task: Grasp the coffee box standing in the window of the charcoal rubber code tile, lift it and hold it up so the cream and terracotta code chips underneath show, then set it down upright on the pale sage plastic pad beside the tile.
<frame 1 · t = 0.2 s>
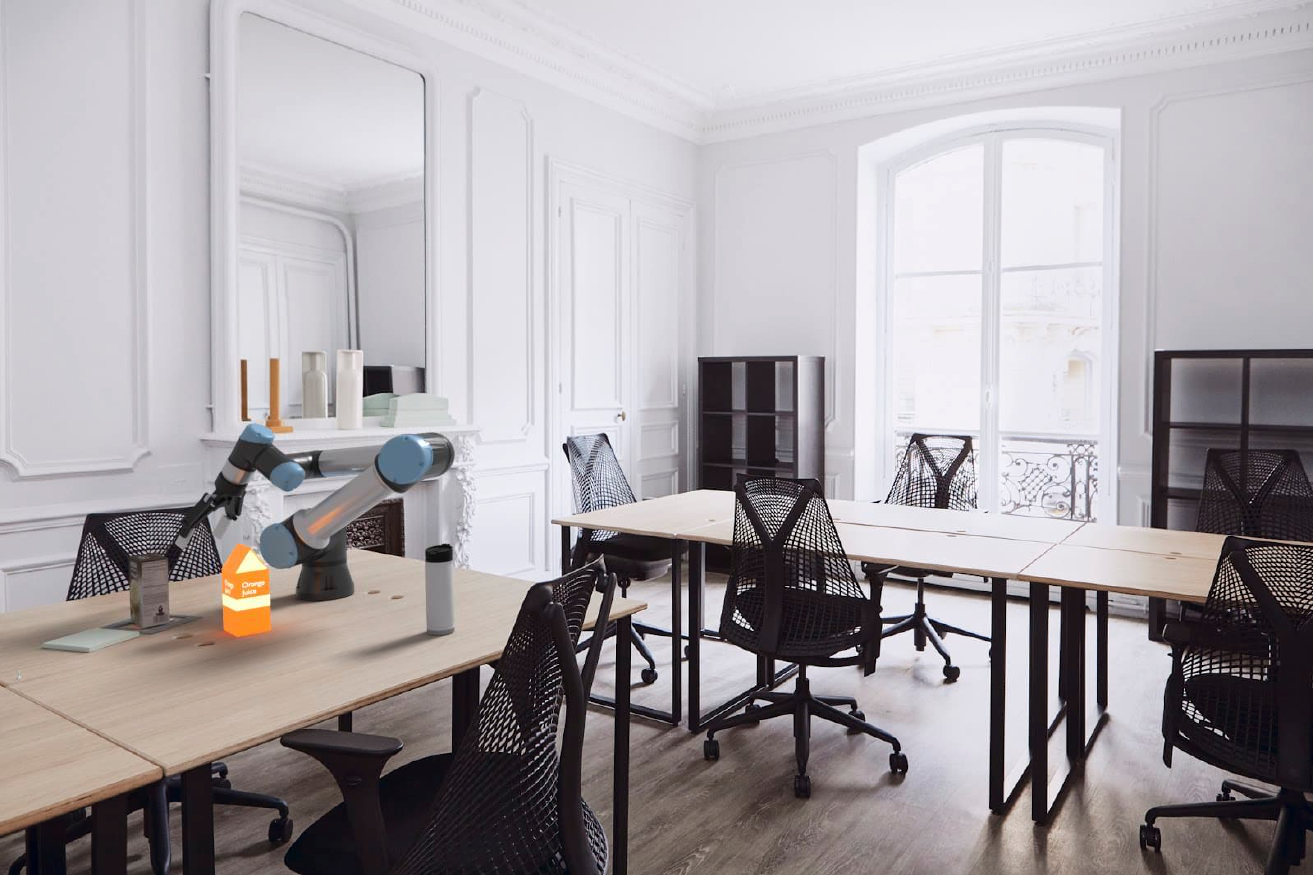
hand: (198, 541, 239), 16 cm above the table, tool tilted 35°, fingers open, 13 cm apart
orange juice: (247, 631, 210), on the table
coffee box: (150, 623, 216), on the table, touching code tile
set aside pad: (92, 641, 201), on the table
code tile: (150, 623, 216), on the table
travel mug: (441, 632, 207), on the table
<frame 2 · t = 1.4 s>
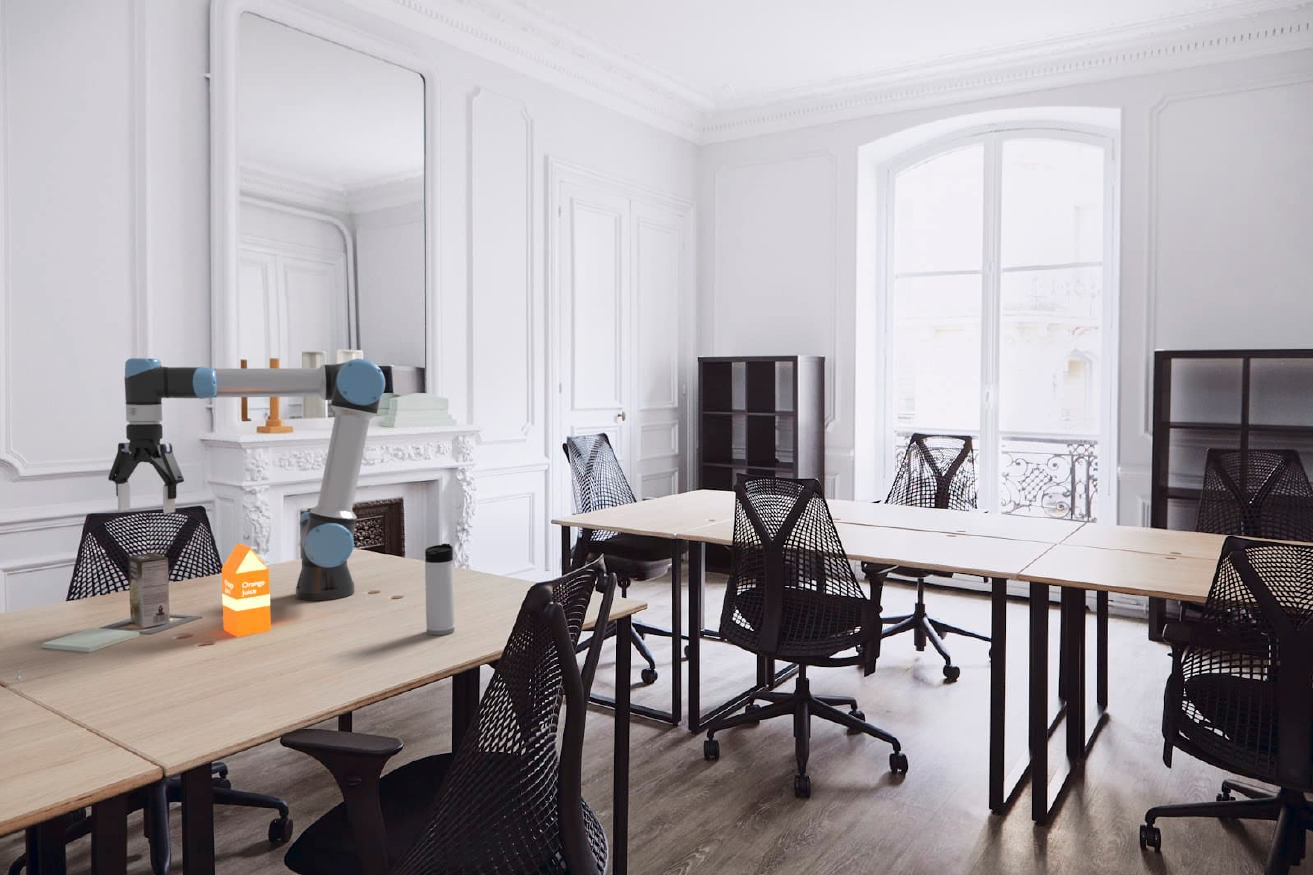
hand: (146, 511, 215), 27 cm above the table, tool pointing down, fingers open, 13 cm apart
nothing on the table moved.
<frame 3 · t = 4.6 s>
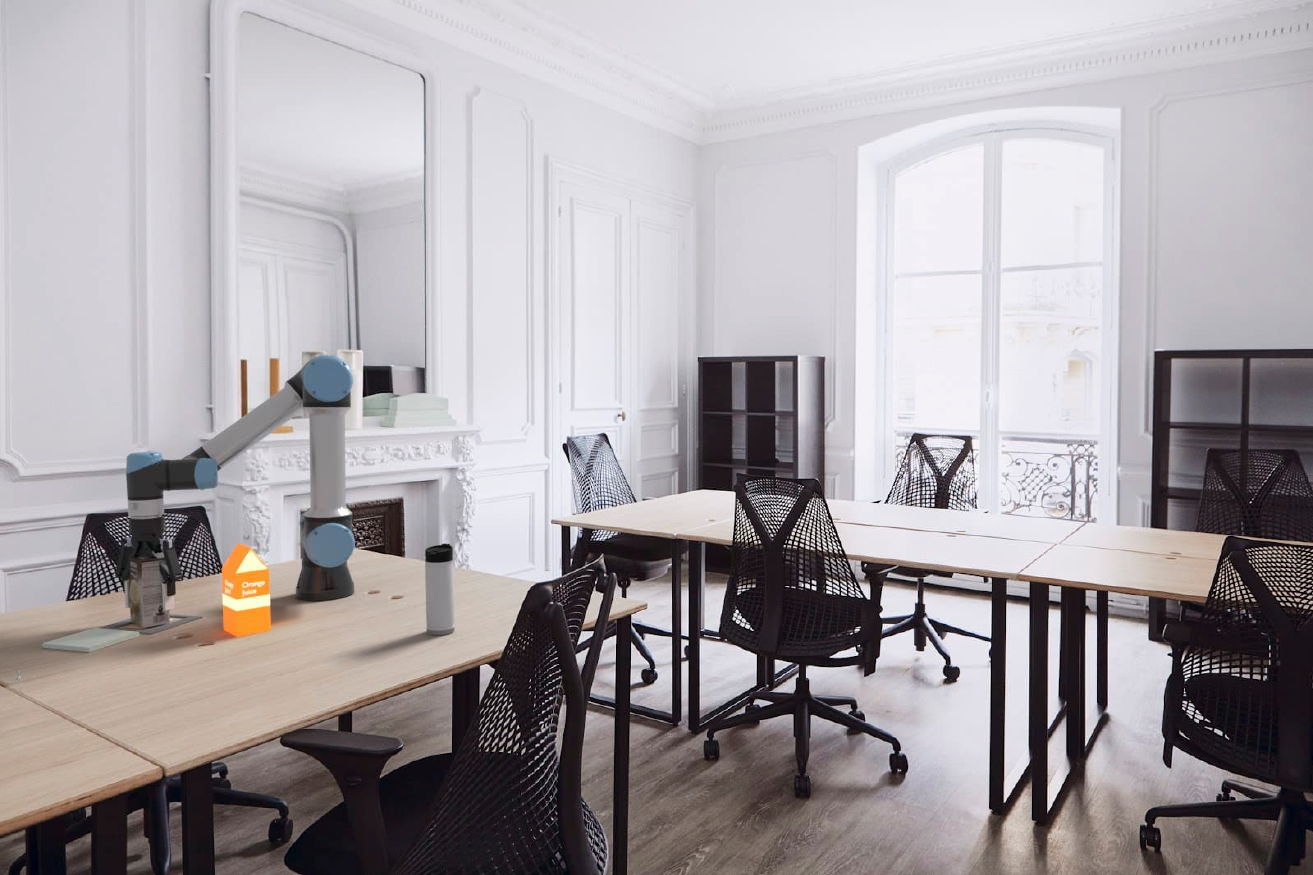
hand: (150, 607, 216), 4 cm above the table, tool pointing down, fingers closed on coffee box, 10 cm apart
coffee box: (150, 623, 216), on the table, touching code tile, gripper
everything else where it was.
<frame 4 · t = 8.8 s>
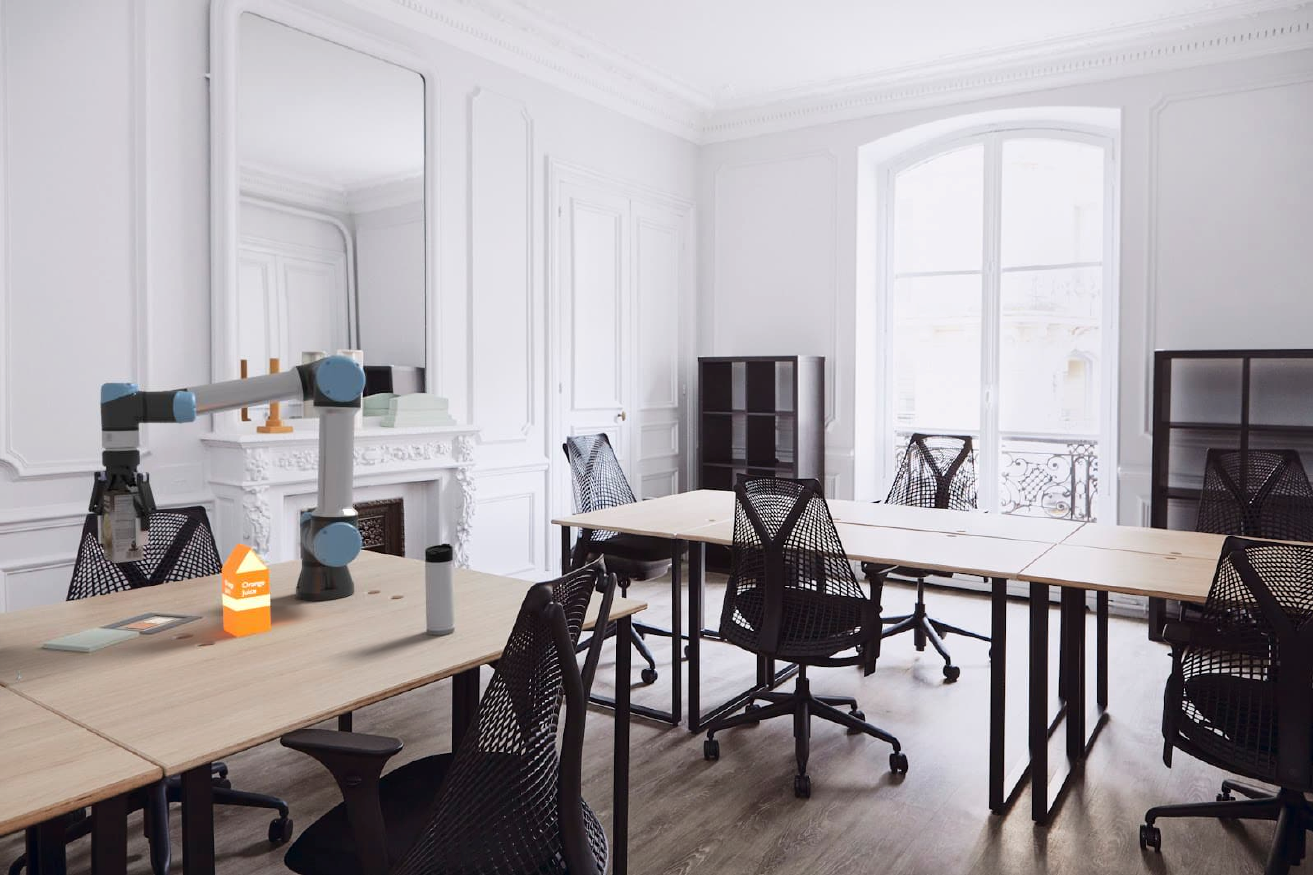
hand: (123, 544, 209), 20 cm above the table, tool pointing down, fingers closed on coffee box, 10 cm apart
coffee box: (123, 559, 209), point 17 cm above the table, touching gripper
everything else where it was.
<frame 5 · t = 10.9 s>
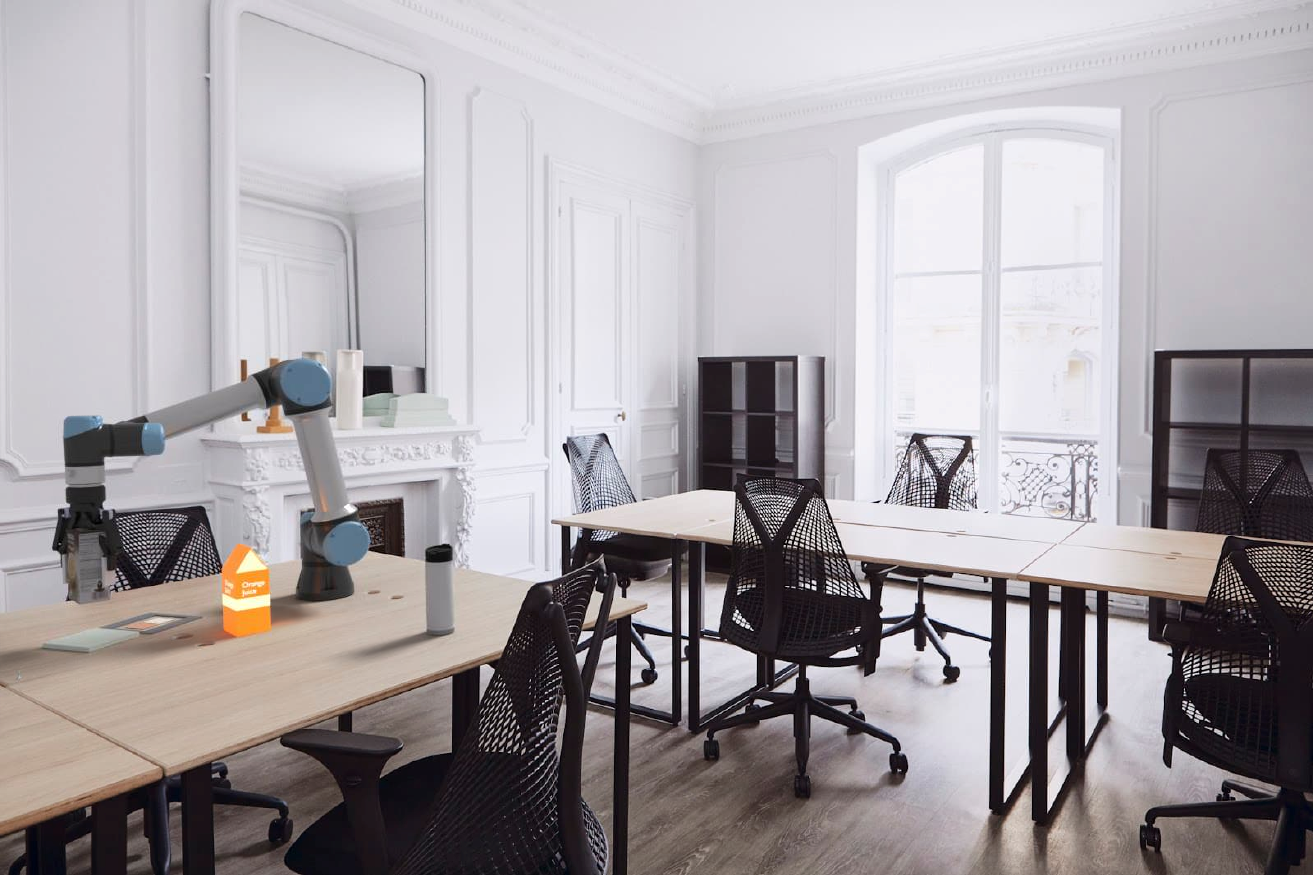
hand: (89, 583, 200), 13 cm above the table, tool pointing down, fingers closed on coffee box, 10 cm apart
coffee box: (89, 600, 200), point 9 cm above the table, touching gripper
everything else where it was.
when the fingers open (6 cm above the table, at t = 13.1 s): coffee box drops 2 cm, resting on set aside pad.
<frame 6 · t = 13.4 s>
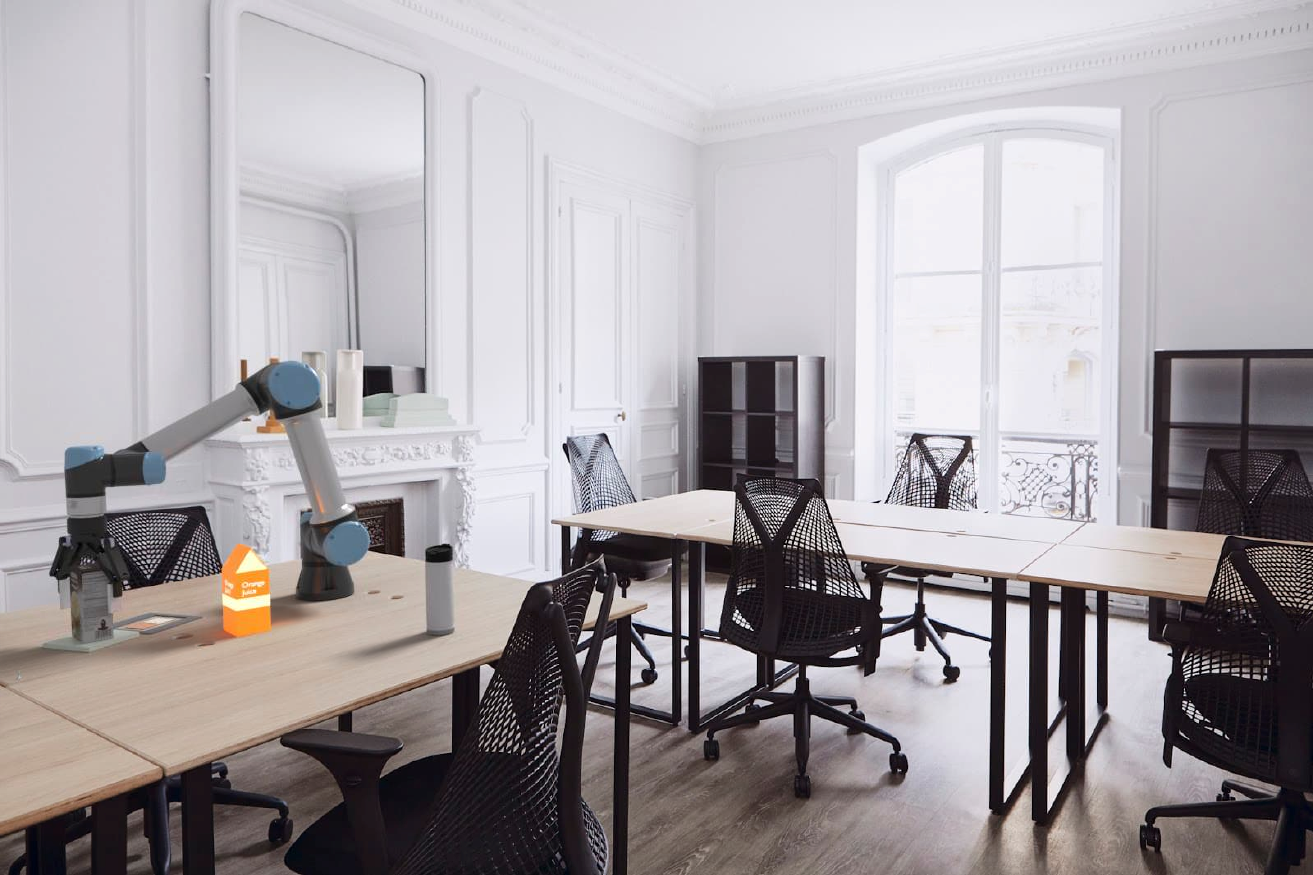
hand: (90, 610, 200), 7 cm above the table, tool pointing down, fingers open, 13 cm apart
coffee box: (93, 638, 201), point 1 cm above the table, touching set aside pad
everything else where it was.
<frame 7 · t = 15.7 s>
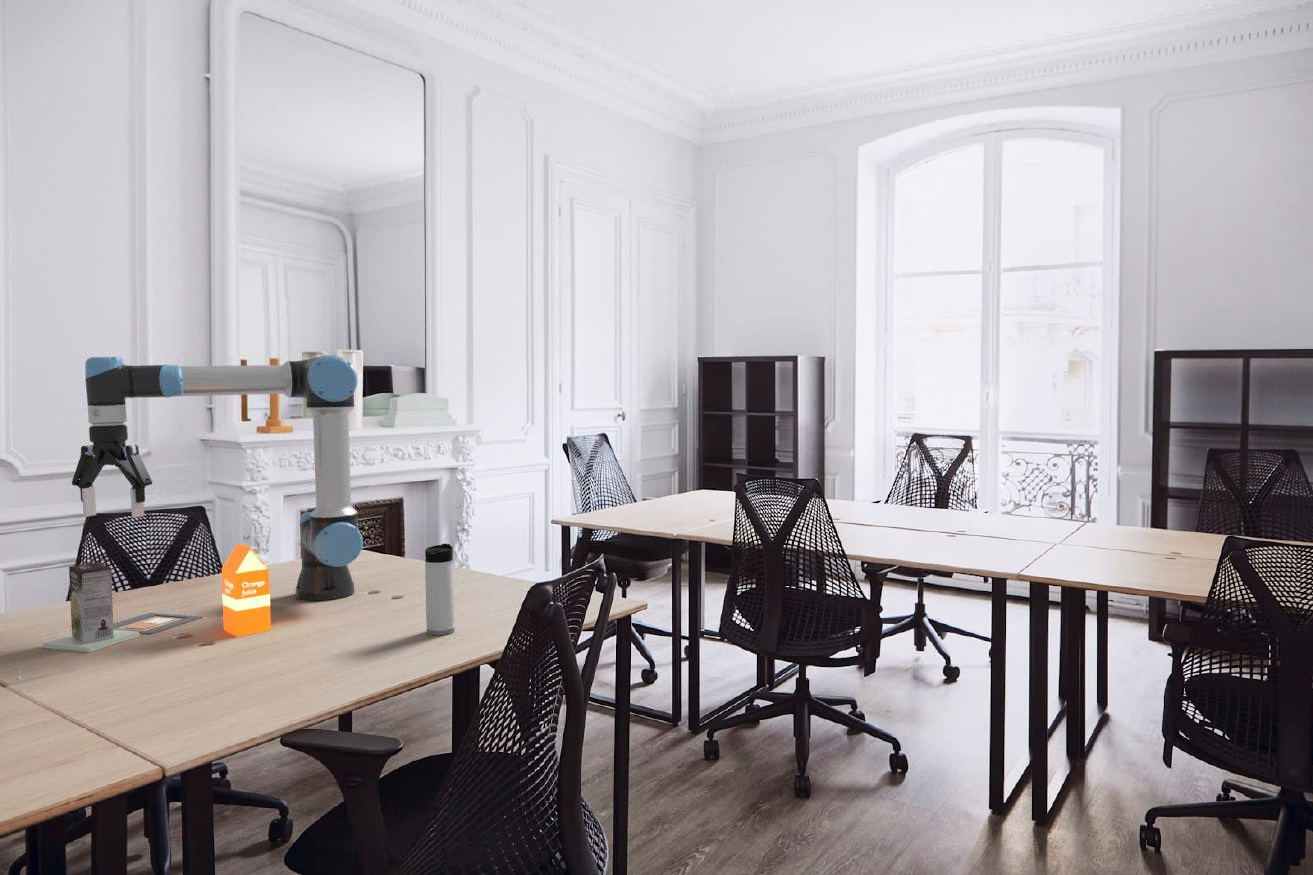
hand: (113, 516, 207), 27 cm above the table, tool pointing down, fingers open, 13 cm apart
nothing on the table moved.
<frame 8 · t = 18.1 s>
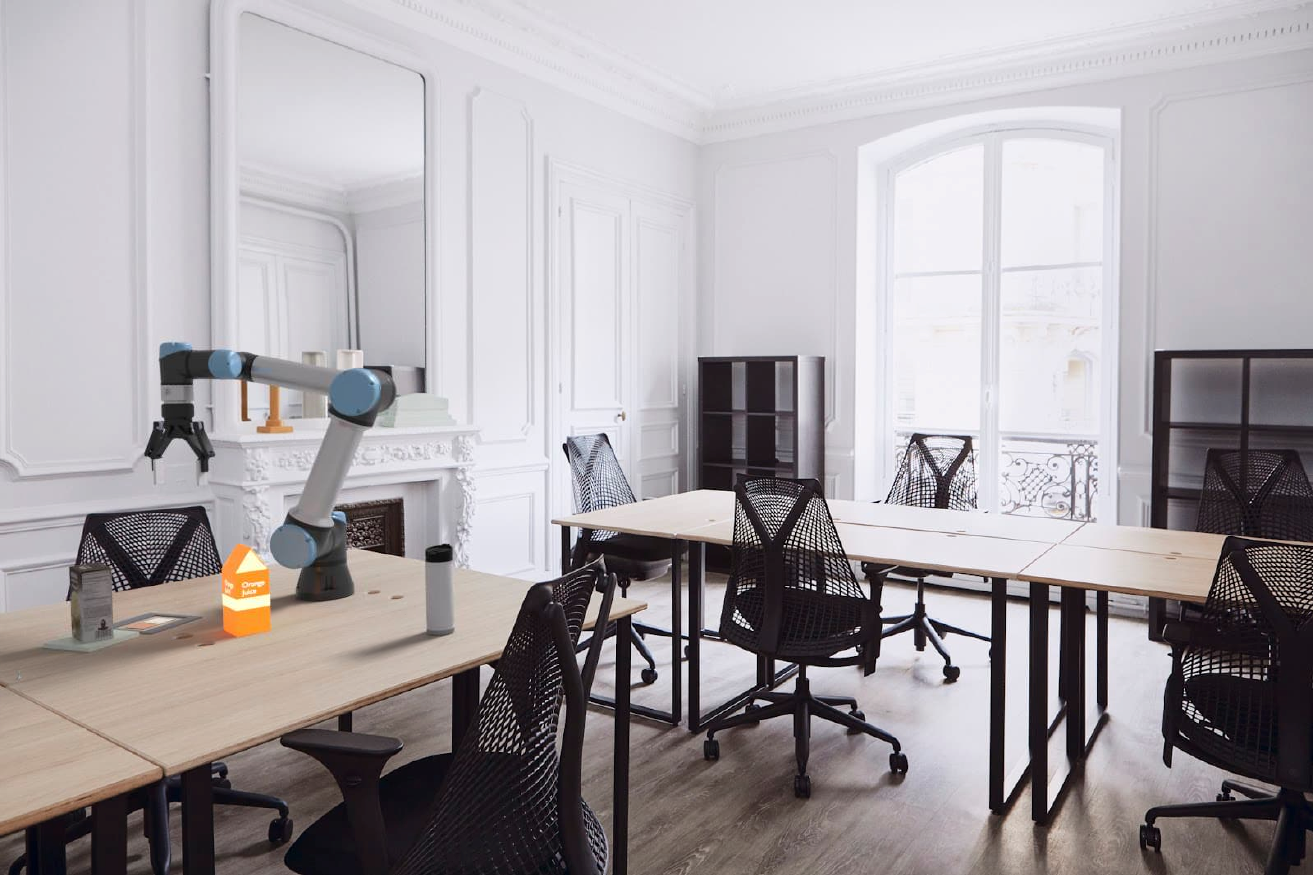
hand: (180, 484, 232), 32 cm above the table, tool pointing down, fingers open, 13 cm apart
nothing on the table moved.
at the end: coffee box inside the target area on the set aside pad (0.2 cm from its centre), point 0.8 cm above the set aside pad's base; coffee box tilted 0°; the gripper is holding nothing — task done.
